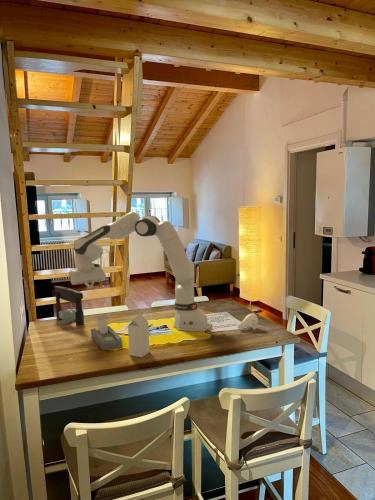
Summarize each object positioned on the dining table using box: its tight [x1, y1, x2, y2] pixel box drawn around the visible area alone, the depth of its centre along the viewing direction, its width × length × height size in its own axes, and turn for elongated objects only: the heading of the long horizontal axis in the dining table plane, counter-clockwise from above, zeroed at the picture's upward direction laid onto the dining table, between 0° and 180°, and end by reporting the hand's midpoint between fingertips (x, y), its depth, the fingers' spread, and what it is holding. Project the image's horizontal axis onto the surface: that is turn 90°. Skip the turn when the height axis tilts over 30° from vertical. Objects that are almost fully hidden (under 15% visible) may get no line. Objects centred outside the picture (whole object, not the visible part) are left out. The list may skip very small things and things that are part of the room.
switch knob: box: [96, 313, 109, 334], centre depth 192 cm, size 5×5×9 cm
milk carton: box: [127, 313, 150, 358], centre depth 171 cm, size 7×7×19 cm
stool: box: [54, 285, 85, 326], centre depth 224 cm, size 16×21×33 cm
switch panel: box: [90, 325, 123, 351], centre depth 189 cm, size 22×10×4 cm, turn 29°
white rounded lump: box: [237, 312, 259, 331], centre depth 202 cm, size 6×8×12 cm
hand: (90, 288), depth 209 cm, fingers closed
